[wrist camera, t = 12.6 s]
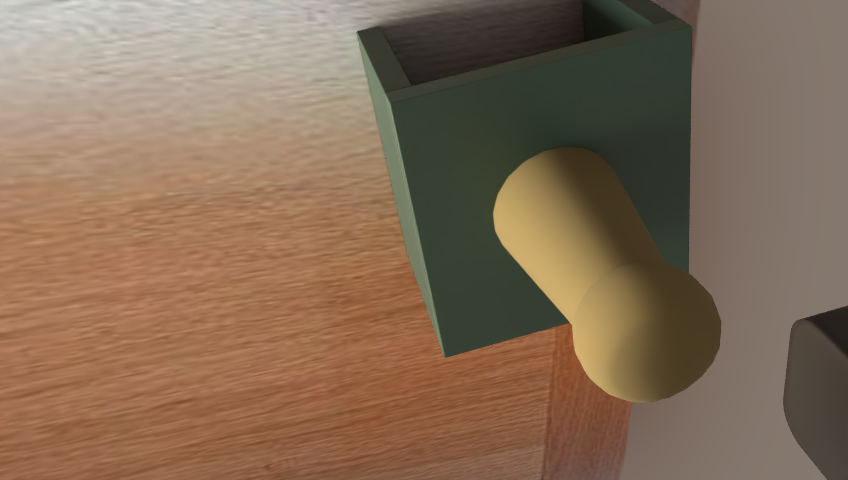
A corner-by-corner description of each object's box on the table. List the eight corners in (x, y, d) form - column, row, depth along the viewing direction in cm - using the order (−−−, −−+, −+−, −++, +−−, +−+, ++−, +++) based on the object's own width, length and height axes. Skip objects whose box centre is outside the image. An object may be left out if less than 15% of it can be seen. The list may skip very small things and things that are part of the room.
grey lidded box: (356, 31, 40) (389, 103, 32) (602, -30, 41) (692, 26, 33) (408, 256, 48) (444, 358, 40) (614, 200, 49) (688, 289, 41)
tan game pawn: (473, 251, 37) (556, 421, 28) (522, 133, 34) (632, 279, 25) (586, 271, 39) (698, 435, 30) (641, 161, 36) (782, 305, 27)
